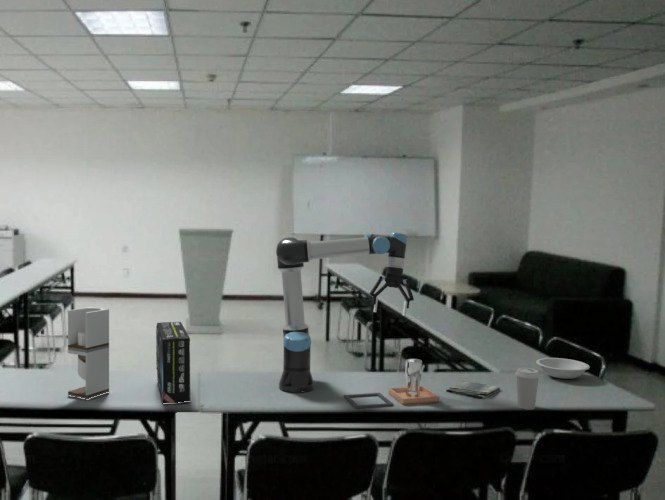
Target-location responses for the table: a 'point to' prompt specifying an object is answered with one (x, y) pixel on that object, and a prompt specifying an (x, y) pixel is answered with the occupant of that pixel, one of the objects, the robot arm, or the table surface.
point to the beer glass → (413, 377)
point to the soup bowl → (562, 367)
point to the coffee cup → (527, 387)
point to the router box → (173, 362)
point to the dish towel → (473, 389)
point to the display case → (90, 349)
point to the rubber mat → (388, 403)
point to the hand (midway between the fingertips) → (389, 313)
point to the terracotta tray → (424, 398)
